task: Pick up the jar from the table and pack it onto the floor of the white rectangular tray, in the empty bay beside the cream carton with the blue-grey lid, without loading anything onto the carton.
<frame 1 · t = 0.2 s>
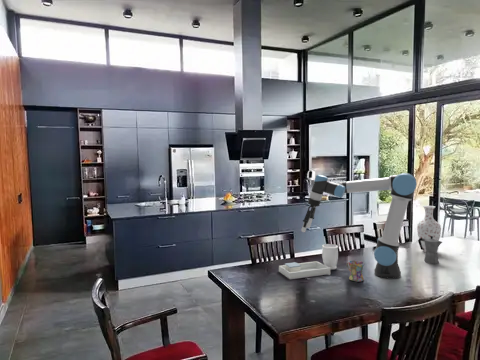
hand: (305, 229, 224), 27 cm above the table, tool tilted 20°, fingers open, 13 cm apart
lid: (292, 265, 217), point 6 cm above the table, touching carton
white rectangular tray: (304, 273, 220), on the table
coffeepot: (429, 261, 241), on the table
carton: (292, 274, 217), point 1 cm above the table, touching white rectangular tray, lid
jar: (330, 268, 231), on the table
vase: (428, 251, 268), on the table
candy bag: (354, 279, 208), on the table
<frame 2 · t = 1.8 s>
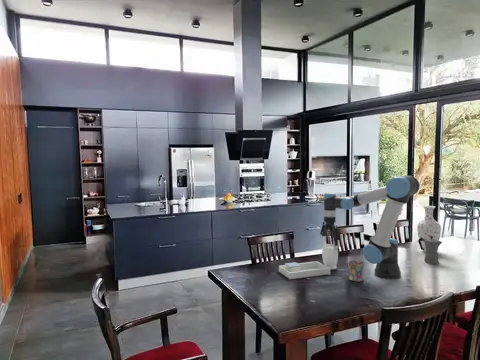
hand: (329, 247, 231), 13 cm above the table, tool pointing down, fingers open, 13 cm apart
nothing on the table moved.
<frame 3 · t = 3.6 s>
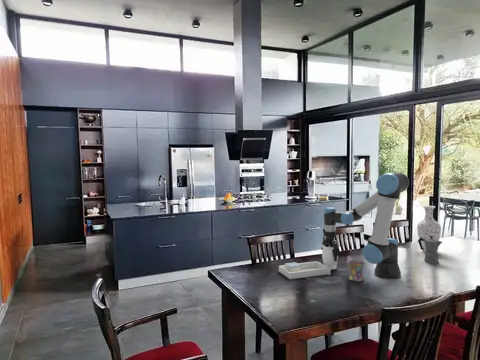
hand: (330, 263, 231), 3 cm above the table, tool pointing down, fingers closed on jar, 10 cm apart
jar: (330, 268, 231), on the table, touching gripper
everything else where it was.
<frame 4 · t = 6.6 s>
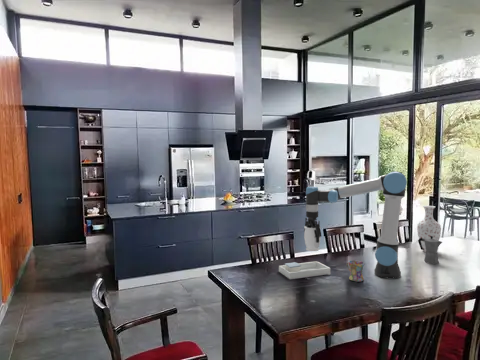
hand: (312, 245, 221), 18 cm above the table, tool pointing down, fingers closed on jar, 10 cm apart
jar: (312, 250, 221), point 15 cm above the table, touching gripper
everything else where it was.
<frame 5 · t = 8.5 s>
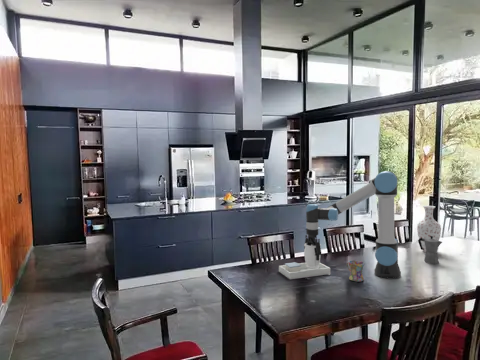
hand: (312, 262, 221), 6 cm above the table, tool pointing down, fingers closed on jar, 10 cm apart
jar: (312, 267, 221), point 3 cm above the table, touching gripper
everything else where it was.
when the fingers open (5 cm above the table, at t = 9.8 s): jar drops 1 cm, resting on white rectangular tray.
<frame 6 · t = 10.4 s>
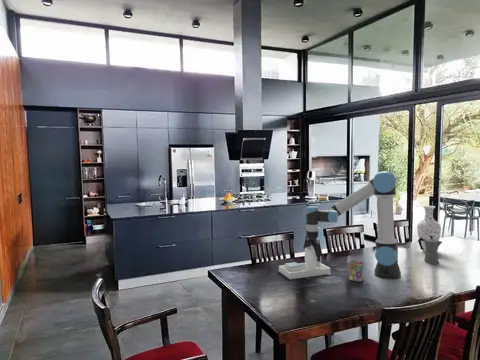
hand: (312, 263, 221), 6 cm above the table, tool pointing down, fingers open, 13 cm apart
jar: (312, 271, 221), point 1 cm above the table, touching white rectangular tray
everything else where it was.
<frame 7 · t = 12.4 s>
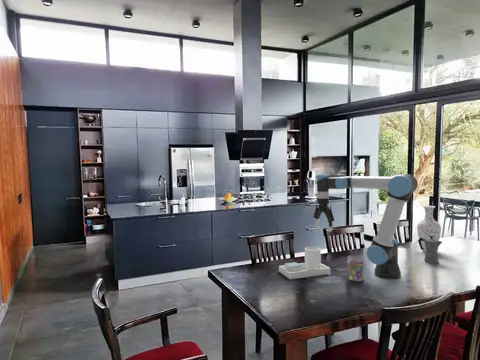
hand: (323, 230, 228), 26 cm above the table, tool pointing down, fingers open, 13 cm apart
nothing on the table moved.
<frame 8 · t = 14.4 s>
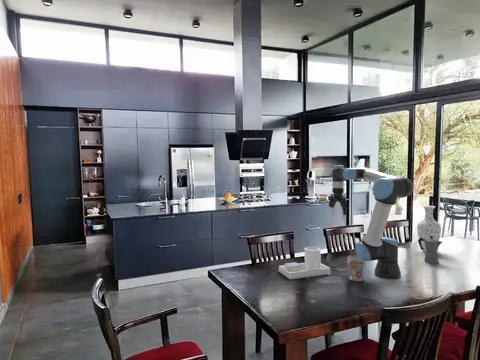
hand: (338, 218, 240), 32 cm above the table, tool pointing down, fingers open, 13 cm apart
nothing on the table moved.
at the end: jar inside the target area (0.3 cm from its centre), point 0.6 cm above the table; jar tilted 0°; lid point 6.3 cm above the table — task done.
